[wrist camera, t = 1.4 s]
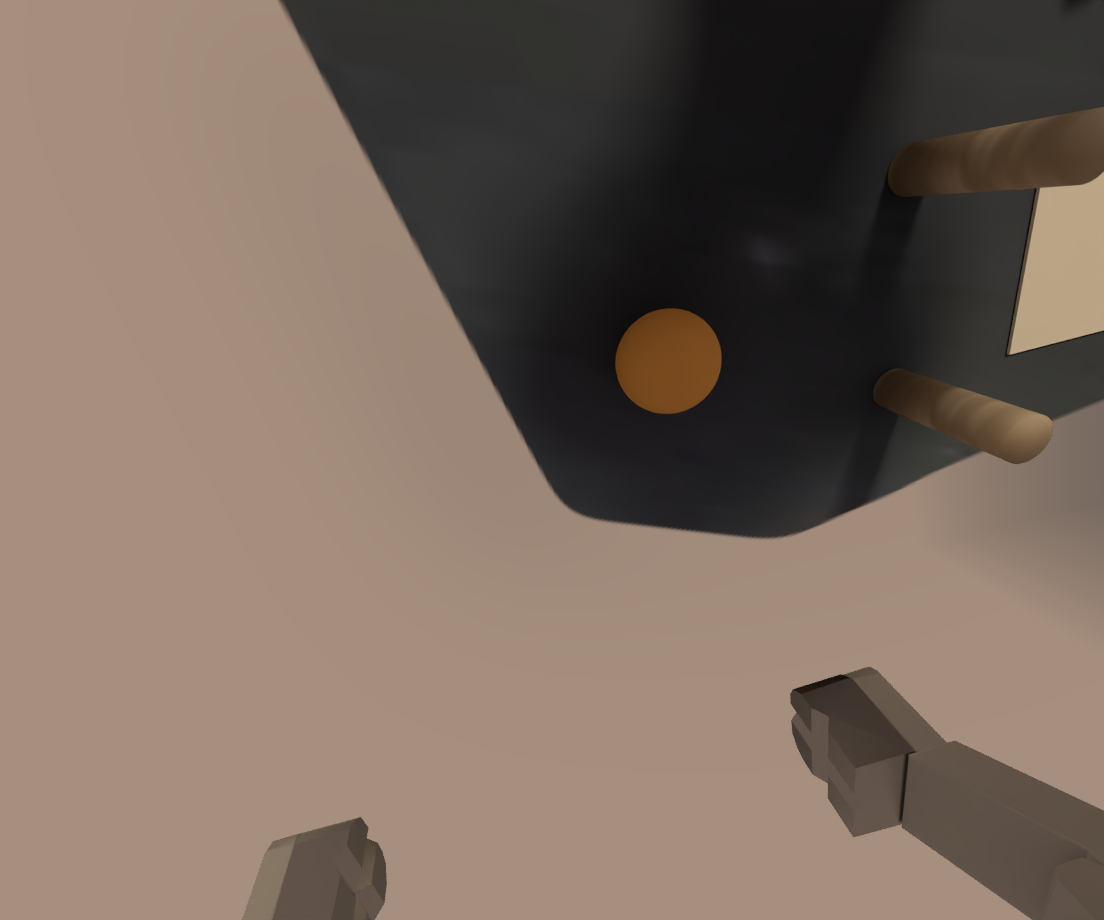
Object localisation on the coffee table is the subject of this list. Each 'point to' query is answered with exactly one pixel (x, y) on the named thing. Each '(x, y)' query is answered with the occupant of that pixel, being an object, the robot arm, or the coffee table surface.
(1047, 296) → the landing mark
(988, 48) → the coffee table surface
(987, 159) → the post
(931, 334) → the coffee table surface
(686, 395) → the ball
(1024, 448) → the post
